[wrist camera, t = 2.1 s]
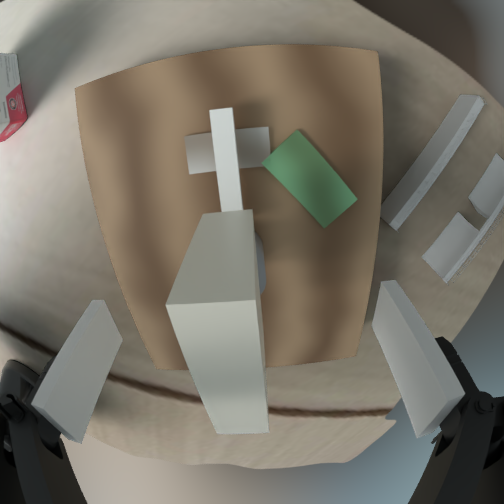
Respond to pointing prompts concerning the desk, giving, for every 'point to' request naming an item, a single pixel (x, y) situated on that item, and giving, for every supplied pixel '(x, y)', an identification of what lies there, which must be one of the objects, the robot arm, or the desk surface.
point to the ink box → (10, 97)
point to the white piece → (224, 301)
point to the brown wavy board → (244, 184)
